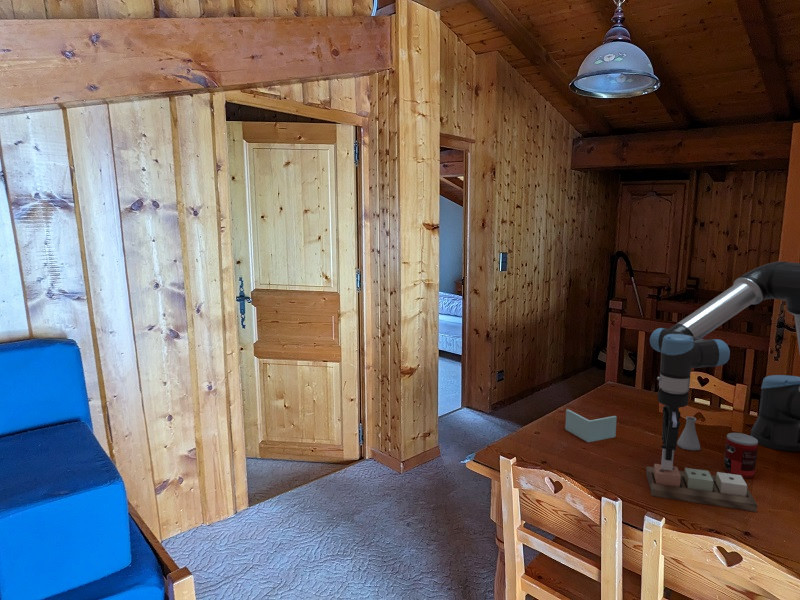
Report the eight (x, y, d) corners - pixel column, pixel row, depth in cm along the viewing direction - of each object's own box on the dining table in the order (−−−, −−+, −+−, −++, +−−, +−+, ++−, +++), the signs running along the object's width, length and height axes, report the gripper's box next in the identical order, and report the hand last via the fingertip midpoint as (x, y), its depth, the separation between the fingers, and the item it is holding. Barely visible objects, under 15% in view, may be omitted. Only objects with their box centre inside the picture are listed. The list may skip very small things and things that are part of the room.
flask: (704, 452, 171) (706, 423, 169) (680, 450, 172) (682, 421, 170) (696, 442, 178) (699, 415, 176) (673, 441, 179) (675, 413, 177)
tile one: (739, 485, 146) (741, 474, 145) (746, 496, 140) (747, 485, 140) (715, 482, 148) (716, 471, 147) (720, 493, 142) (721, 481, 142)
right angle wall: (615, 436, 183) (616, 416, 182) (587, 442, 179) (589, 421, 177) (591, 424, 194) (592, 405, 193) (565, 429, 190) (566, 409, 188)
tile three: (676, 477, 151) (677, 466, 150) (679, 487, 145) (680, 476, 145) (653, 473, 153) (654, 463, 152) (656, 483, 147) (656, 472, 147)
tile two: (707, 481, 148) (708, 470, 148) (712, 491, 143) (713, 480, 142) (683, 478, 150) (684, 467, 150) (687, 488, 145) (688, 477, 144)
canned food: (725, 463, 163) (728, 430, 161) (756, 471, 158) (759, 437, 156) (721, 472, 157) (724, 438, 155) (753, 481, 152) (756, 445, 150)
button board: (741, 485, 149) (742, 479, 149) (756, 511, 136) (757, 504, 136) (645, 472, 157) (646, 466, 157) (651, 495, 144) (652, 489, 144)
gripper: (655, 381, 152) (649, 457, 156) (661, 395, 140) (655, 477, 144) (684, 384, 150) (677, 460, 153) (693, 398, 138) (685, 481, 141)
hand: (666, 468), depth 149 cm, fingers closed
